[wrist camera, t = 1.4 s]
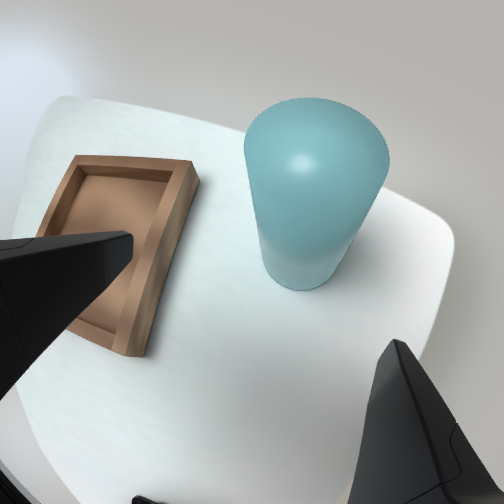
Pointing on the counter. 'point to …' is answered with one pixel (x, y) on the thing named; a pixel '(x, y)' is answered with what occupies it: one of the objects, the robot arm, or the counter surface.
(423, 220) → the counter surface
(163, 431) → the counter surface
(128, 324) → the tray
